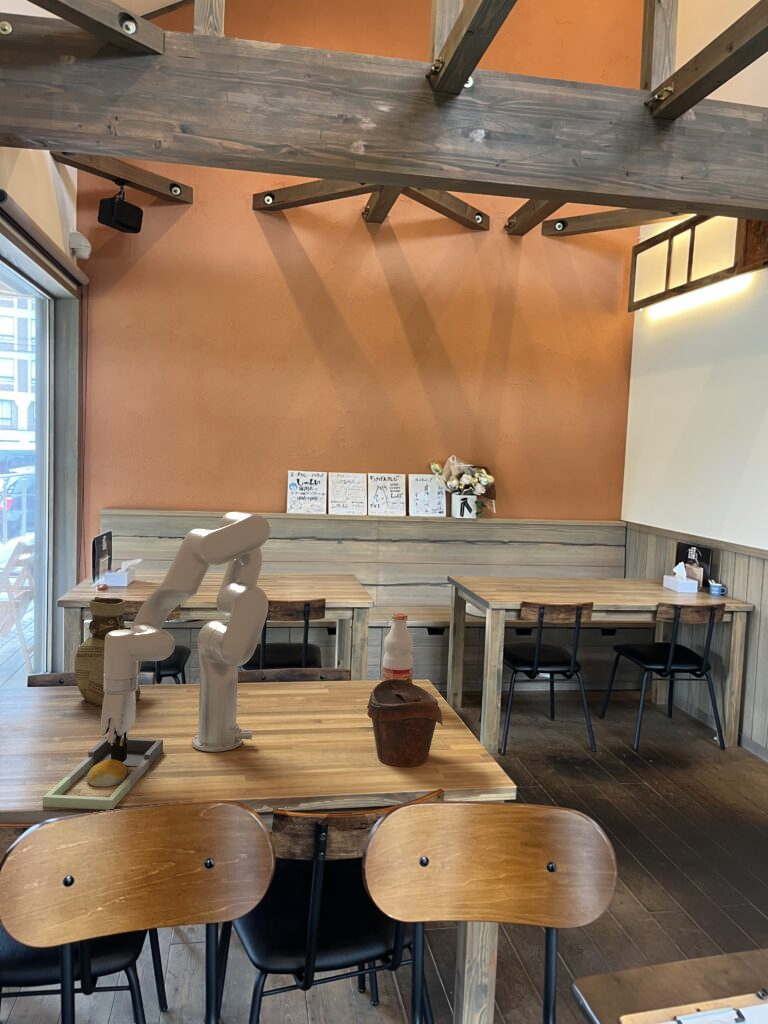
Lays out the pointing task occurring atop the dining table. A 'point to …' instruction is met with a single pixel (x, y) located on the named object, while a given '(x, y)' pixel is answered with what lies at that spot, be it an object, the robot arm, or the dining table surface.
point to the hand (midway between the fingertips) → (118, 760)
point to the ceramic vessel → (98, 649)
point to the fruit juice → (398, 651)
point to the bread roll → (107, 773)
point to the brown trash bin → (403, 722)
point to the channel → (138, 756)
